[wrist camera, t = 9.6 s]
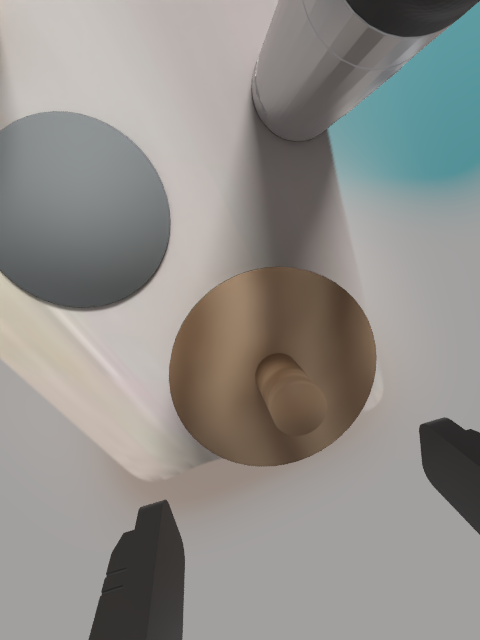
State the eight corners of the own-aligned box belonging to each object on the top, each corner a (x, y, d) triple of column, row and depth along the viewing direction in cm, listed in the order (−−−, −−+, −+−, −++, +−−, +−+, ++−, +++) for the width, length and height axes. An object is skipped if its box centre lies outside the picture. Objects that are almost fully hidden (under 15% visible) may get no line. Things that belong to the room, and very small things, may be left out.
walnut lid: (355, 242, 25) (410, 242, 19) (382, 426, 29) (434, 477, 23) (140, 300, 24) (121, 321, 17) (203, 484, 28) (206, 554, 22)
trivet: (140, 95, 30) (139, 94, 29) (190, 284, 34) (189, 284, 34) (-63, 134, 28) (-66, 132, 28) (18, 325, 33) (16, 326, 33)
